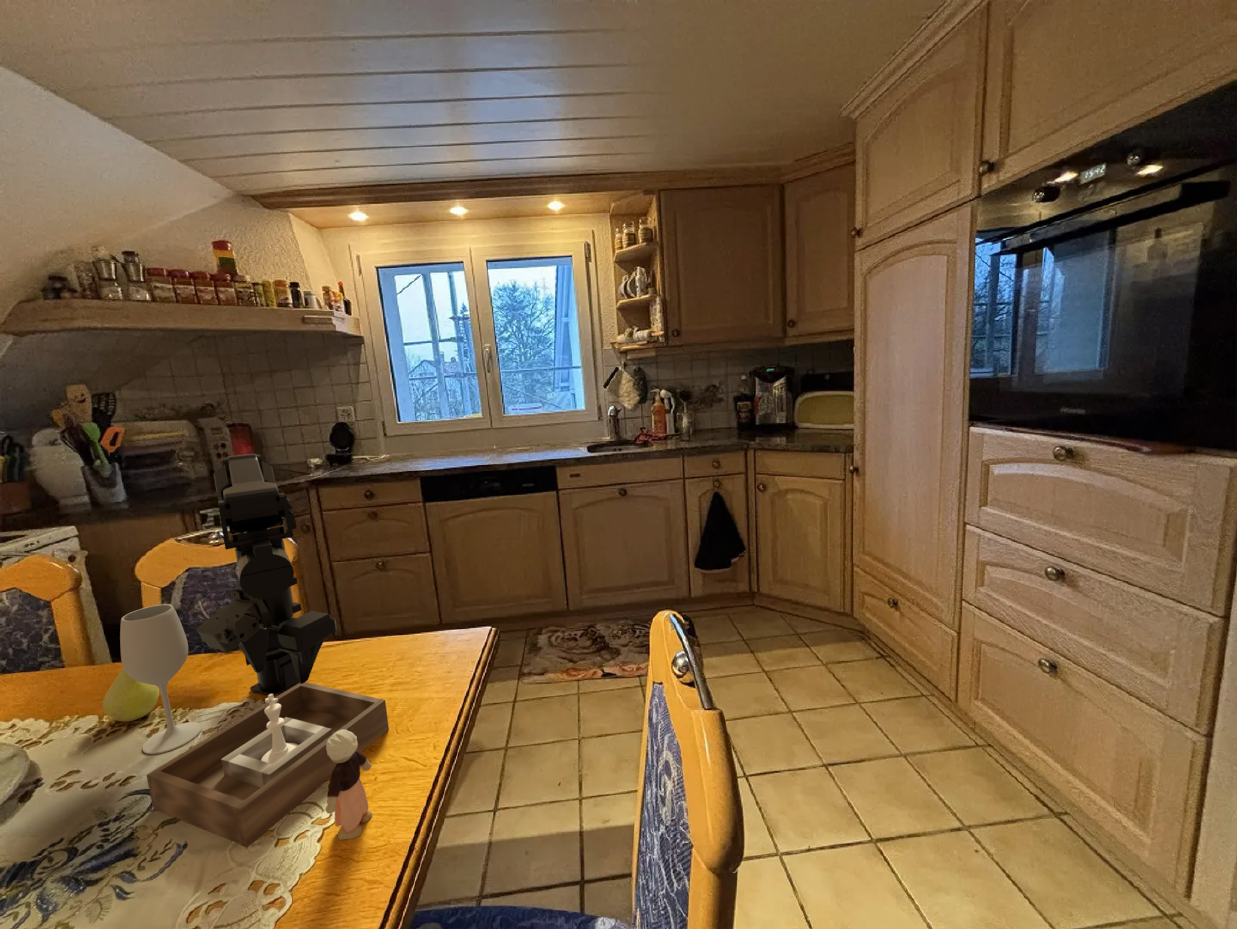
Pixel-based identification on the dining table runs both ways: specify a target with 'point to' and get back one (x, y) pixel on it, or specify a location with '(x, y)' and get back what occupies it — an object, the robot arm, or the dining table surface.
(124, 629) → the wineglass
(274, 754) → the chess piece
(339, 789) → the grandmother figurine
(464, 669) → the dining table surface
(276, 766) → the walnut box
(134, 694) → the fruit
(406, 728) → the dining table surface
